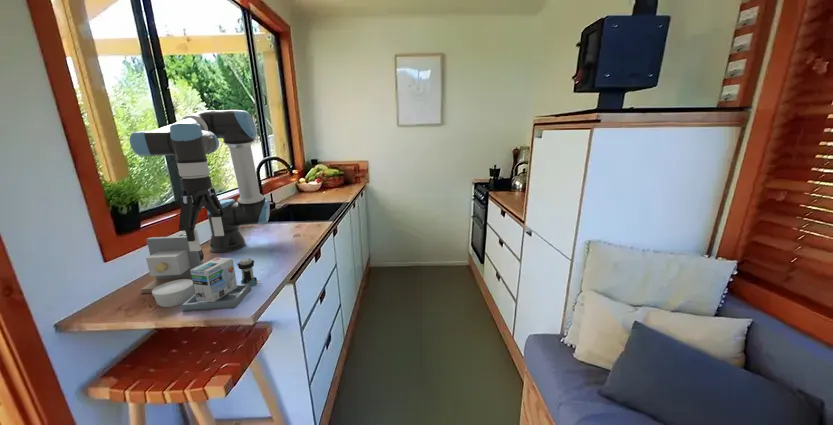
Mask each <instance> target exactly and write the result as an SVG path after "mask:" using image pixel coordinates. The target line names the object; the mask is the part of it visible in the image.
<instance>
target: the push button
mask: <svg viewBox="0 0 833 425" xmlns="http://www.w3.org/2000/svg"><path fill="white" fill-rule="evenodd" d="M254 264H255V260H252V259H251V258H249V257H248V258H242V259H240V260H239V262H238V263H237V264H236V266H237V267H238V269H240V270H241V280H240V283H241V284H250V286H251V288H252V287H256V285H260V284H262V282H261V280H258V279H257V277H256V276H255V275H254V269H253V267H255V265H254Z"/></svg>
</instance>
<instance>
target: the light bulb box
mask: <svg viewBox="0 0 833 425" xmlns="http://www.w3.org/2000/svg"><path fill="white" fill-rule="evenodd" d="M235 270H236V269H235V264H234V259H233V258H228V257H227V258H226V257H214V258H212V259H211V260H210V259H209V261H206V262H203V263H202V265H200V266H198V267H195V268H193V269H191V270H190V271H191V276H192V281H193V285H194V287H193V291H194V294H195V295H196V300H197V301H207V302H215V301H216V300H218V299H219V298H221V297H223V296H224V295H226V294H228V293H229V292H231V291H232V290H234V289H236V288H237V285H238V283H237V278H236V277H237V276H236V271H235Z"/></svg>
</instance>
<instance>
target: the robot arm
mask: <svg viewBox="0 0 833 425" xmlns="http://www.w3.org/2000/svg"><path fill="white" fill-rule="evenodd" d="M256 130H257V128H256V124H255V121H254V119H253V117H252V116H251V114H250V113H249V112H248V111H246V110H242V109H240V110H239V109H227V110H226V109H225V110H224V109H223V110H222V109H221V110H220V109H219V110H218V109H217V110H216V109H215V110H212V109H209V110H208V109H207V110H202V111H198V112H195V113H192V114H189V115H185V116H184V117H182V119H180V121H178V122H174V123H172V124H169V125H165V126H162V127H160V128H156V129H153V130H150V131H149V130H142V131H133V132H132V133H131V134H130V135H129V144H130V148H131V149H132V151H133V152H134V154H136V155H138V156H140V157H141V156H142V157H157V156H158V157H159V156H175V160H176V164H177V169H178V176H180V177H181V178H180V179H179V181H180V185H181V188H182V191H184V192H186V193H187V195H183V196H182V195H181V196H180V198H179V201H180V212H179V222H178V230H179V231H180V232H185V234H186V236H187V240H188V244H189V248H190V251H200V250H202V248H201V243H200V242H201V241H200V237H199V232H198V229H197V228H196V225H197V220H198V218H199V214H200V211H201V210H202V208H203V207H204V208H205V209H206V210H207V218H208V223H209V227H210V228H209V229H210V232H211V233H210V234H211V236H210V242H209V250H210V252H211V253H212V252H213V253H227V252H232V251H233V252H234V251H236V250H238V249H242V248H243V247H245V246H246V240H245V238H244V236H243V234H242V232H241V231H240V227H242V226H255V225H263V224H264V225H265V224H266V223H267V224H268V221H269V218H270V213H271V212H270V210H271V209H270V208H271V207H270V200H268V199H265V196H264V195H263V194H261V193H260V186H259V181H258V177H257V171H256V165H255V160H254V156H253V150H252V146H251V145H252V144H253V143H254V138H256V137H257V131H256ZM219 139H222V140H223V144H224V145H226V146H227V147H228V148H229V153H230V157H231V162H232V165H233V169H234V170H233V171H234V174H235V179H236V184H237V188H238V193H239V197H238V198H237V201H235V199H233V198H229V199H222V200H219V198H218V196H217V193H216V189H215V187H214V188H213V185H212V178H211V177H210V174H211V173H210V168H209V164H208V159H207V155H210V154H213V153H214V152H216V151H217V150H218V149H219V146H220V140H219Z"/></svg>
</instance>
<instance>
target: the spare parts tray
mask: <svg viewBox="0 0 833 425" xmlns="http://www.w3.org/2000/svg"><path fill="white" fill-rule="evenodd" d="M251 291H252V287H251V286H250V284H237V288H236V289H234V290H232V291H231V292H229V293H228V294H226V295H224V296H223V297H221V298H219V299H218V300H216V301H215V302H207V301H197V300H196V295H195V293H194V294H193V296H192V297H191V298H189V299H188V300H187V301H186V302H184V303H183V304H181V308H182V312H185V313H186V312H198V311H199V312H200V311H215V310H216V311H217V310H218V311H219V310H233V309H236V308H237V307H238V306H239V305H240V304H241V302H242V301H243V300H244V299H245V298H246V296H248V295H249V293H250V292H251Z"/></svg>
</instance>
